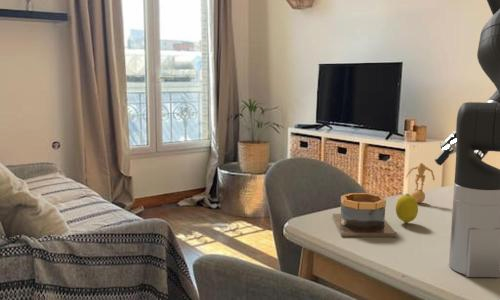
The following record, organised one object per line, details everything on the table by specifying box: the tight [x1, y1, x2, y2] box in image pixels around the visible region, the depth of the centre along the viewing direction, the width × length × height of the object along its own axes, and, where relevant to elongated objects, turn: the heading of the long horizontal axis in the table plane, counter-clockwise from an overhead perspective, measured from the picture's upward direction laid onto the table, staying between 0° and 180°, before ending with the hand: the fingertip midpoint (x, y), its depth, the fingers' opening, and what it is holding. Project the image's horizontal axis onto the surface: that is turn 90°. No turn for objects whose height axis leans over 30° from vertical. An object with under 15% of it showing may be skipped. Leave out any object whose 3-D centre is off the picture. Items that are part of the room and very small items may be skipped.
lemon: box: [395, 193, 419, 224], centre depth 128 cm, size 6×6×8 cm
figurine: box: [405, 162, 436, 204], centre depth 149 cm, size 8×6×12 cm
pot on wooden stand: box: [331, 192, 397, 238], centre depth 126 cm, size 16×13×8 cm
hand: (447, 166), depth 130 cm, fingers open, 8 cm apart
